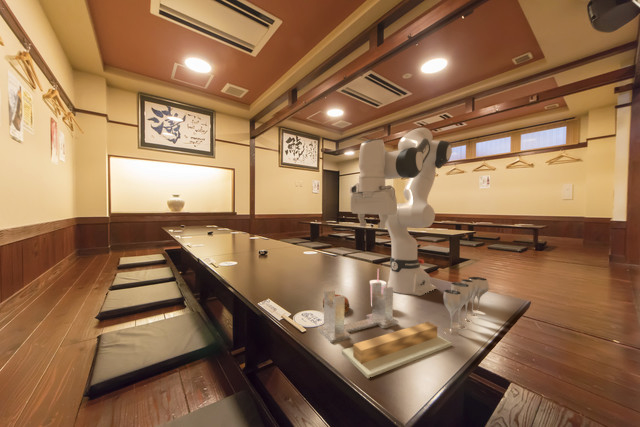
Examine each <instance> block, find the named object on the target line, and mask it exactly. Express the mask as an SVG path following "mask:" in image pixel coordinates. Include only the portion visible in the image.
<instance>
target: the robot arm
mask: <svg viewBox="0 0 640 427" xmlns="http://www.w3.org/2000/svg"><path fill="white" fill-rule="evenodd" d="M397 149H398V150H393V151H388V150H386V147H385V144H384V139H382V138H374V139H369V140H365V141H362V143H361V144H360V146H359V153H358V167H359V176H358V182H356V184H354V185H353V186H351V187H350V189H349V190H350V194H351V195H350V199H349V200H350V203H349V205H350V212H351V214H355V215H357V218H358V220H359V226H360V227H363V228H364V227H365V228H366V227H367V221H366V220H365V216H366V215H378V217H379V220H380V222H378V223H377V228H378V229H379V230H384V229H387V231H388V234H389V236H390V242H391V243H390V244H391V256H390V260H389V263H390V264H389V265H390V270H389V275H388V281H387V285H386V287H393V293H394V292H395V293H398V294H403V295H404V294H405V295H414V296H423V295H426V294H428V293H430V292H429V291H431V292H433V291H435V290H434V289H436V290H437V286H435V285H433V284H431V276H430V274H429V273H427V272H426V271H425V270H424V269H423V268H422V267H421V266H420V264H421V265H423V264H424V263H425V260H424V259H421V258H418V246H419V245H418V241H417V240H416V238H414V237H413V236H411V235H410V233H409V231H408V228H409V229H424V228H429V227H431V226H432V224H433V223H434V222H435V218H436V214H435V210H434V208H433V206H431V205H430V204H429V202H428V197H429V195H430V192H431V189H432V188H433V185H434V181H435V178H436V171H437V170H436V169H441V168H442V167H443V166H444V165H446V164H447V163H448V162H449V161H450V158H451V157H452V153H453V149H452V144H451V143H450V141H448V140H433V133H432V131H431V130H430V129H429V128H426V127H418V128H415V129H412V130H410V131H408V132H407V133H405V134H404V135H403V136H402V137H401V138H400V139H399V140H398V144H397ZM394 179H395V180H396V179H408V181H407V182H406V184H405V185H404V188H403V196H404V198H405V199H406V200H407V201H406V202H404V203H403V202H399V203H398V202H397V195H396V189H395V188H394V187H393V186H392V185H391V184H390V185H386V180H394ZM432 290H433V291H432ZM427 292H428V293H427ZM425 293H426V294H425Z"/></svg>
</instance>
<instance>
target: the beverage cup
mask: <svg viewBox="0 0 640 427" xmlns="http://www.w3.org/2000/svg"><path fill="white" fill-rule="evenodd" d="M379 272H380V268H377V272H376V273H377V275H376V276H377V278H376V279H371V280H369V285H370V305H371V307H372V283H378V282H380V283H381V294H383V288H386V287H387V282H386V281H385V280H383V279H382V280H381V279H379V278H380V277H379V276H380V274H379Z"/></svg>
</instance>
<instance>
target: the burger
mask: <svg viewBox="0 0 640 427" xmlns="http://www.w3.org/2000/svg"><path fill="white" fill-rule="evenodd" d="M341 295H342V294H341ZM341 295H340V294H337V293H336V294H335V297H336V296H341ZM322 308H323V309H324V298H323V300H322ZM349 310H350V302H349V299H348V297H346V296H345V305H344V315H345V314H347V313H348V312H349Z"/></svg>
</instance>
